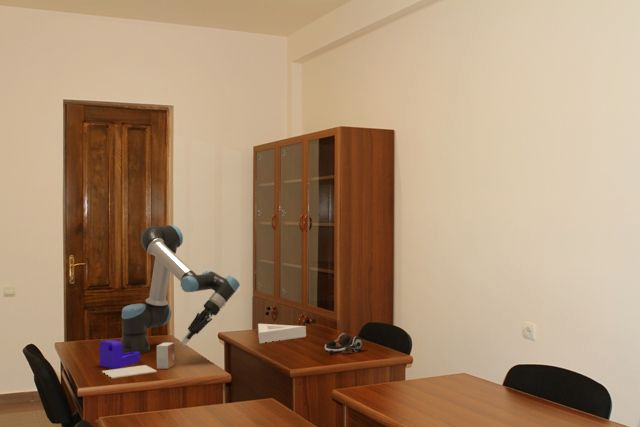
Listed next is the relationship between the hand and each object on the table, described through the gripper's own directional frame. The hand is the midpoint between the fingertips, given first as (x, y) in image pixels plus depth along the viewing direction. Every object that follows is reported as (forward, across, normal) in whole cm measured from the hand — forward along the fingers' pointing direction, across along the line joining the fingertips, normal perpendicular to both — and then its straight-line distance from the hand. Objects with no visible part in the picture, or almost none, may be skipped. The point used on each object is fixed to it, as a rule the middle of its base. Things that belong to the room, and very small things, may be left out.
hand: (182, 343), depth 335 cm
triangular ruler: (-43, +31, -58) cm, 79 cm away
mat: (+24, 0, +11) cm, 27 cm away
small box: (+13, 0, -1) cm, 13 cm away
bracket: (+22, +19, +8) cm, 30 cm away
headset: (-47, -19, -61) cm, 79 cm away
